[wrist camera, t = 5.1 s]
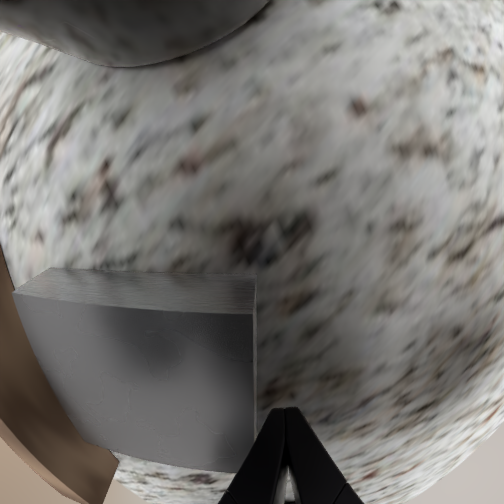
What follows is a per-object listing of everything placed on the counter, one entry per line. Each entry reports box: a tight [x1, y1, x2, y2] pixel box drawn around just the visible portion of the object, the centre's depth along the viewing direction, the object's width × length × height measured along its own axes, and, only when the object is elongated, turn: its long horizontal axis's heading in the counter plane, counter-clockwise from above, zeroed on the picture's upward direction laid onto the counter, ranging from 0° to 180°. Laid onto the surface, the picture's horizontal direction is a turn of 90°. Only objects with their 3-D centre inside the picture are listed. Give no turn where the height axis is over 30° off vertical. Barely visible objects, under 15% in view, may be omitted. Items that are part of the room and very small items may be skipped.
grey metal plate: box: [12, 268, 257, 473], centre depth 8 cm, size 7×7×2 cm
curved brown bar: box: [0, 246, 119, 504], centre depth 8 cm, size 14×3×4 cm, turn 8°
